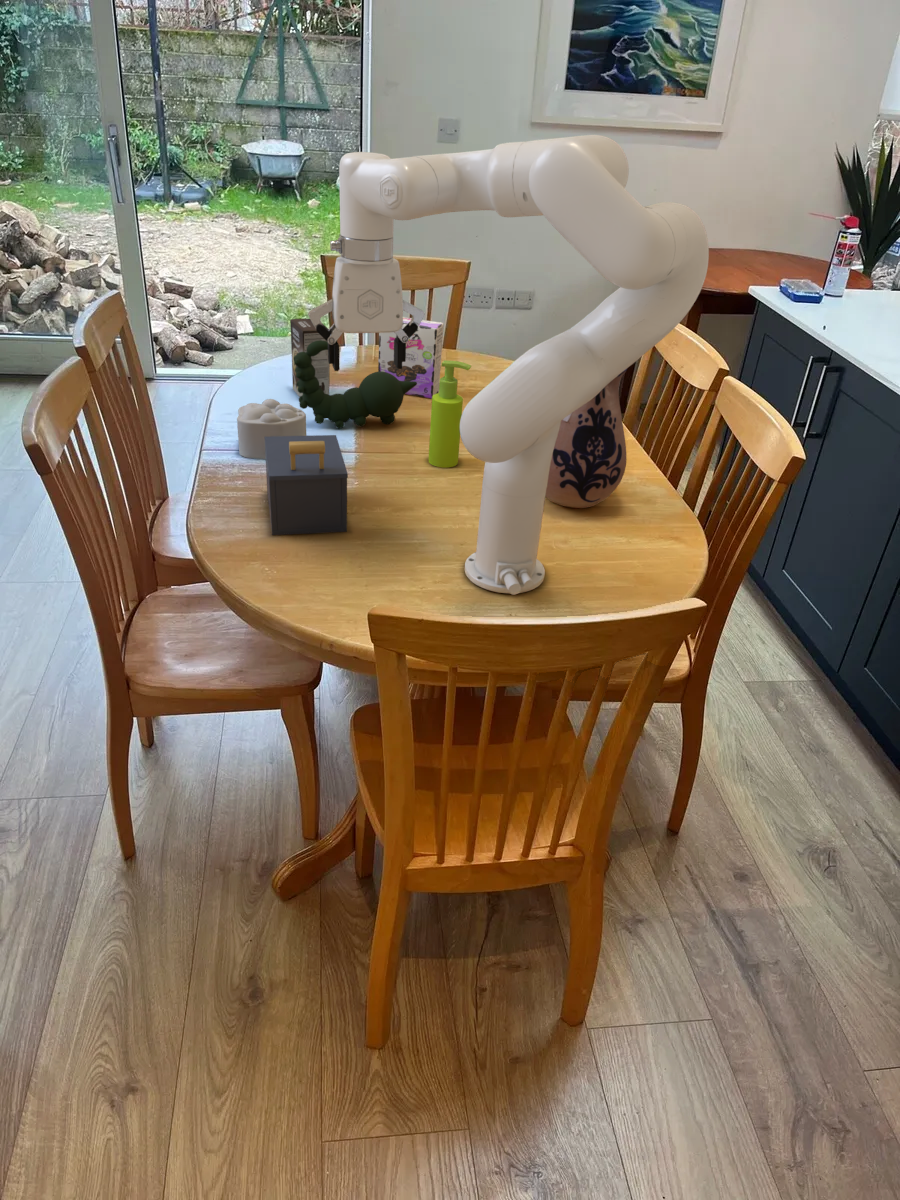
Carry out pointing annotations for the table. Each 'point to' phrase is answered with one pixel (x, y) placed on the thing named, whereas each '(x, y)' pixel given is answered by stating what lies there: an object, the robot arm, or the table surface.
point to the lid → (304, 457)
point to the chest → (307, 505)
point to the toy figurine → (349, 393)
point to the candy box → (415, 357)
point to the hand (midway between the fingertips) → (367, 367)
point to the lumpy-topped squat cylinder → (267, 425)
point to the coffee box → (300, 340)
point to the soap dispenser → (446, 419)
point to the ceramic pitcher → (589, 452)
